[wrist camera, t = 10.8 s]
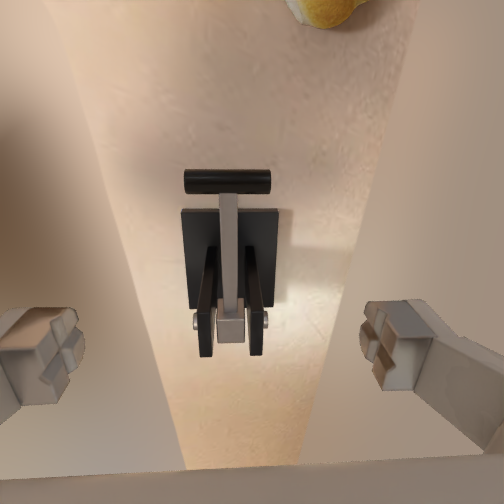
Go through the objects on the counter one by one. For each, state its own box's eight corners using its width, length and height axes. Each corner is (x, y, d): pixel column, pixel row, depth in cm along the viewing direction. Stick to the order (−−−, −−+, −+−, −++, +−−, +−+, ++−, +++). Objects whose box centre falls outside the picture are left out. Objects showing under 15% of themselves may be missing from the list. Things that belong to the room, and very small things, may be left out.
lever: (186, 162, 19) (181, 177, 17) (268, 163, 19) (272, 178, 17) (202, 321, 27) (200, 344, 25) (259, 320, 27) (261, 342, 25)
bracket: (182, 208, 32) (155, 268, 21) (277, 208, 33) (302, 265, 21) (190, 303, 37) (172, 392, 26) (272, 301, 38) (289, 387, 27)
